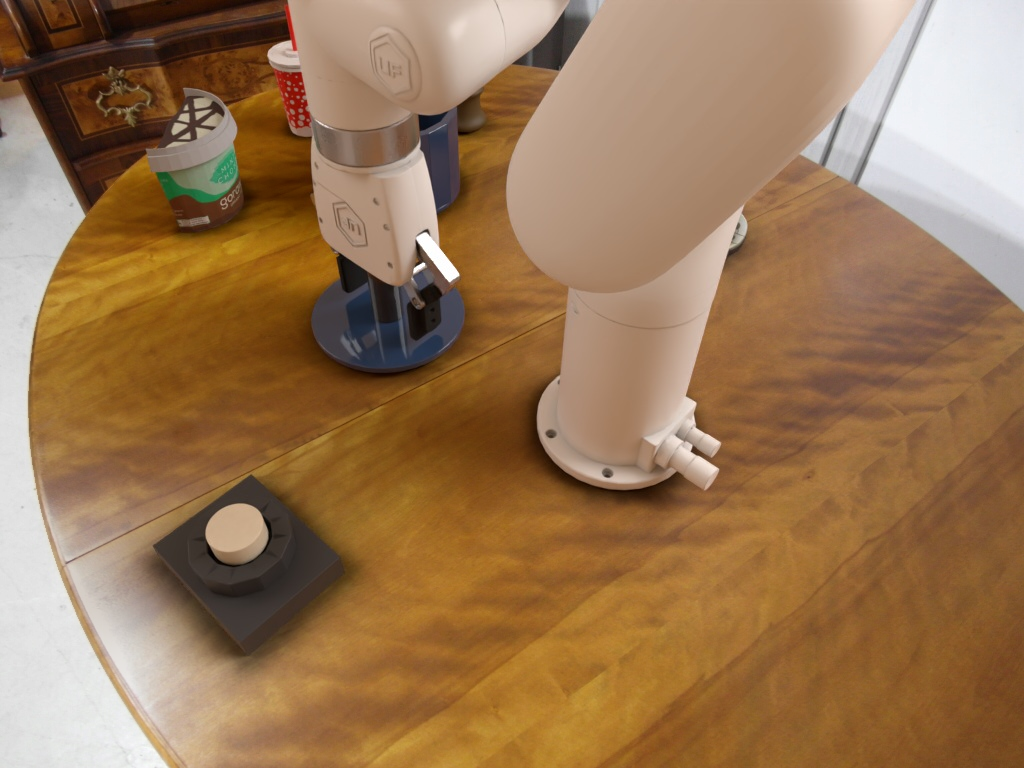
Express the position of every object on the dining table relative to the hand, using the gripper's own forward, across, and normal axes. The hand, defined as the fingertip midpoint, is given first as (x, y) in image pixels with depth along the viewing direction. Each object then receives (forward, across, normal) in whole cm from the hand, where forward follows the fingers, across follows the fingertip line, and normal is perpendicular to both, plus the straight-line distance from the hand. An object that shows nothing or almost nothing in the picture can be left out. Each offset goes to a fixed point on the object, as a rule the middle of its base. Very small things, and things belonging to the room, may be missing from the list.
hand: (391, 306), depth 68 cm
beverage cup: (+2, -32, +16) cm, 36 cm away
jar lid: (+1, 0, 0) cm, 1 cm away
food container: (+2, -26, 0) cm, 26 cm away
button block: (+2, +11, -23) cm, 26 cm away
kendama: (+2, -19, +29) cm, 35 cm away
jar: (+2, -15, +15) cm, 21 cm away
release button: (-2, +11, -23) cm, 26 cm away
